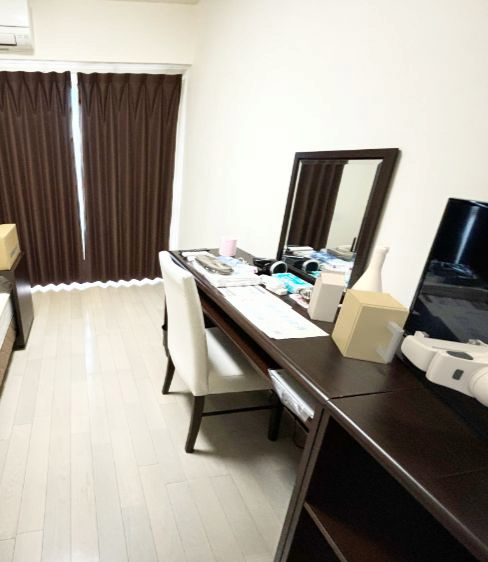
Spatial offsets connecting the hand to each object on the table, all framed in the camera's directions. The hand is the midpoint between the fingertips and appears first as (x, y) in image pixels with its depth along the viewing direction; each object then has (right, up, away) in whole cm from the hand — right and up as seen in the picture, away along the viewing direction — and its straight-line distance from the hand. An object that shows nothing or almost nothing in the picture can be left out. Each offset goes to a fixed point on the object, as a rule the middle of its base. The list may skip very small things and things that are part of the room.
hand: (444, 338), depth 67 cm
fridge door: (+2, -12, +23) cm, 26 cm away
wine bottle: (+15, -4, +45) cm, 48 cm away
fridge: (+5, -9, +31) cm, 32 cm away
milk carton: (+5, -1, +50) cm, 50 cm away
